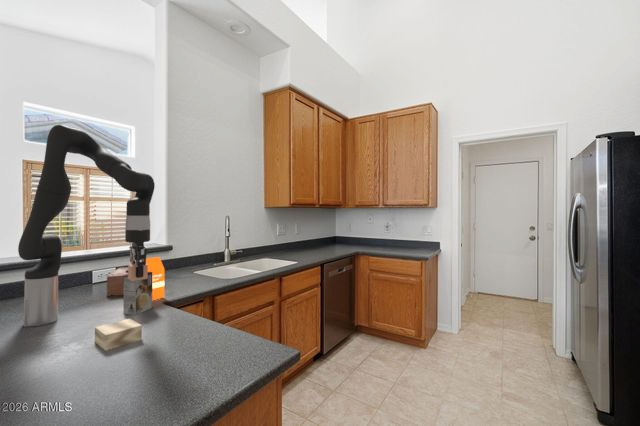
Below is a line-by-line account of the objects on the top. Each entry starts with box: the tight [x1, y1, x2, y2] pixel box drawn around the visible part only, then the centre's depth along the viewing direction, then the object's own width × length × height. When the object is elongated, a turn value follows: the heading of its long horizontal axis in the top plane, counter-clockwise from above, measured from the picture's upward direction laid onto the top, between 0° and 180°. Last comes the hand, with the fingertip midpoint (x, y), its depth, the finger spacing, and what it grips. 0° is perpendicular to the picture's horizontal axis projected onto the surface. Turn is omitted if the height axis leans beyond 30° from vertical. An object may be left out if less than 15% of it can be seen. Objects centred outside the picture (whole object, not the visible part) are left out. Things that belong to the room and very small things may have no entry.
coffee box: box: [123, 272, 154, 315], centre depth 124 cm, size 9×6×16 cm
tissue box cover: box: [106, 266, 128, 297], centre depth 160 cm, size 26×14×10 cm, turn 24°
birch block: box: [94, 318, 143, 352], centre depth 95 cm, size 10×10×5 cm
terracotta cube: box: [127, 263, 148, 281], centre depth 104 cm, size 5×5×5 cm
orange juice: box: [146, 256, 166, 301], centre depth 140 cm, size 8×9×20 cm
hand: (137, 275), depth 103 cm, fingers closed on terracotta cube, 5 cm apart
